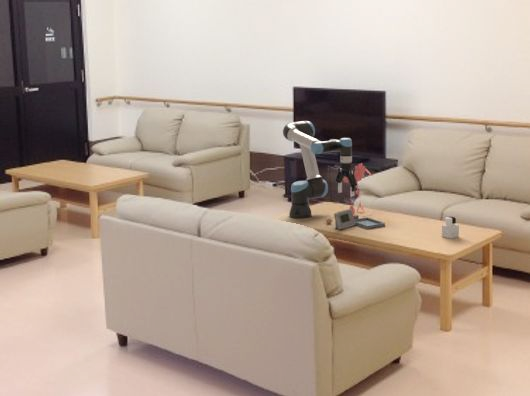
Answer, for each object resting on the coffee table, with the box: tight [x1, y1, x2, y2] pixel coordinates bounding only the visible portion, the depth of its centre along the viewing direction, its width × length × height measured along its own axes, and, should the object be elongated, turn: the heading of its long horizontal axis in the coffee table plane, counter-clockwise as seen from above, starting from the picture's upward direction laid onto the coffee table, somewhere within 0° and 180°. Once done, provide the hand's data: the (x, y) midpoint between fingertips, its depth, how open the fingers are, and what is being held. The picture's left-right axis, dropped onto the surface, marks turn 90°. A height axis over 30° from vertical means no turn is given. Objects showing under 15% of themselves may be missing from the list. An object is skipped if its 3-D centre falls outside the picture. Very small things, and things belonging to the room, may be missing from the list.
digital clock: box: [333, 208, 356, 231], centre depth 499 cm, size 16×9×11 cm, turn 123°
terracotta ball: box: [325, 217, 333, 225], centre depth 511 cm, size 4×4×4 cm
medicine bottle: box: [441, 216, 460, 240], centre depth 467 cm, size 7×7×12 cm
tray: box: [354, 216, 386, 230], centre depth 504 cm, size 13×19×2 cm
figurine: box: [342, 162, 373, 217], centre depth 530 cm, size 15×26×35 cm, turn 135°
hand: (346, 194), depth 511 cm, fingers open, 13 cm apart
